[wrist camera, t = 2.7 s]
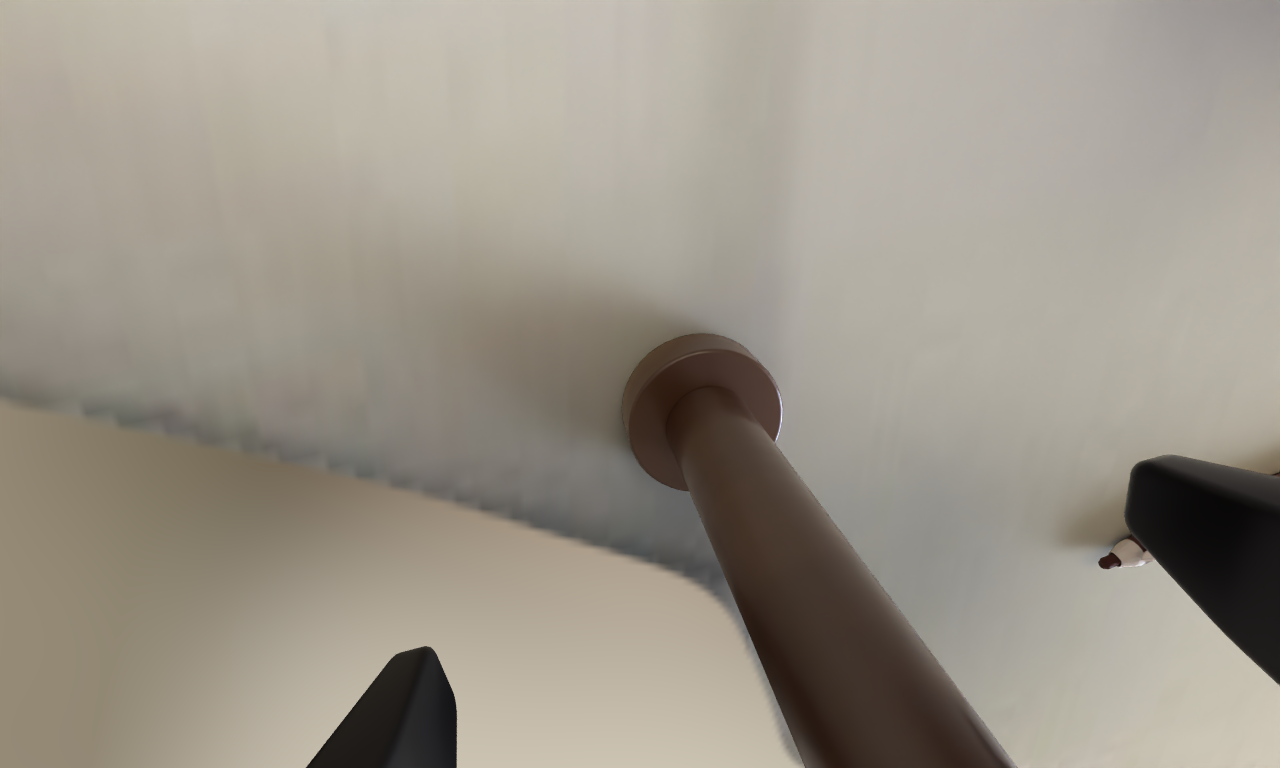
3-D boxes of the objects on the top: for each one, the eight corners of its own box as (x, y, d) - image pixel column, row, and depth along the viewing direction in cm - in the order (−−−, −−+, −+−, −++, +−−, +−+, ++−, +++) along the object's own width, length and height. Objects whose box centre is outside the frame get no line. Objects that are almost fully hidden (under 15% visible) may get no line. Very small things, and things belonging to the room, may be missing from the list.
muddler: (758, 317, 12) (1814, 1240, 2) (772, 448, 13) (1488, 1428, 3) (608, 351, 12) (992, 1557, 2) (636, 482, 13) (965, 1634, 3)
